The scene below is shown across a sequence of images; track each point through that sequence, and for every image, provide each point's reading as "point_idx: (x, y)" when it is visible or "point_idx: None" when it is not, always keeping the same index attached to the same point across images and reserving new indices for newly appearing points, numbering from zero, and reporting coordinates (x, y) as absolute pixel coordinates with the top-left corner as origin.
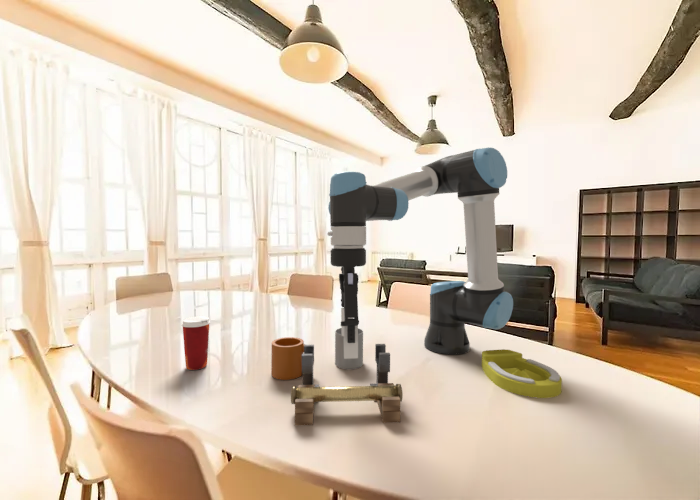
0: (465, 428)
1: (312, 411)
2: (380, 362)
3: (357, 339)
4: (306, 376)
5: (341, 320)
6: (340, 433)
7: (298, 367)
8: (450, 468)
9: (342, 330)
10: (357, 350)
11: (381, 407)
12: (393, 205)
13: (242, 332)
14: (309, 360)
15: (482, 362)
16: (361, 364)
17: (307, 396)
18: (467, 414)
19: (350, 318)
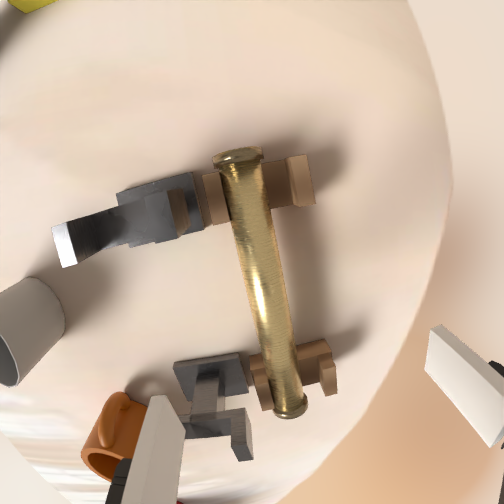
0: (287, 31)
1: (329, 354)
2: (184, 229)
3: (485, 363)
4: (222, 409)
5: (177, 488)
6: (344, 284)
7: (136, 418)
8: (404, 92)
9: (181, 447)
10: (458, 340)
11: (285, 205)
12: None
13: (44, 473)
14: (248, 437)
15: (28, 4)
16: (36, 281)
17: (301, 381)
18: (230, 18)
19: (154, 472)
